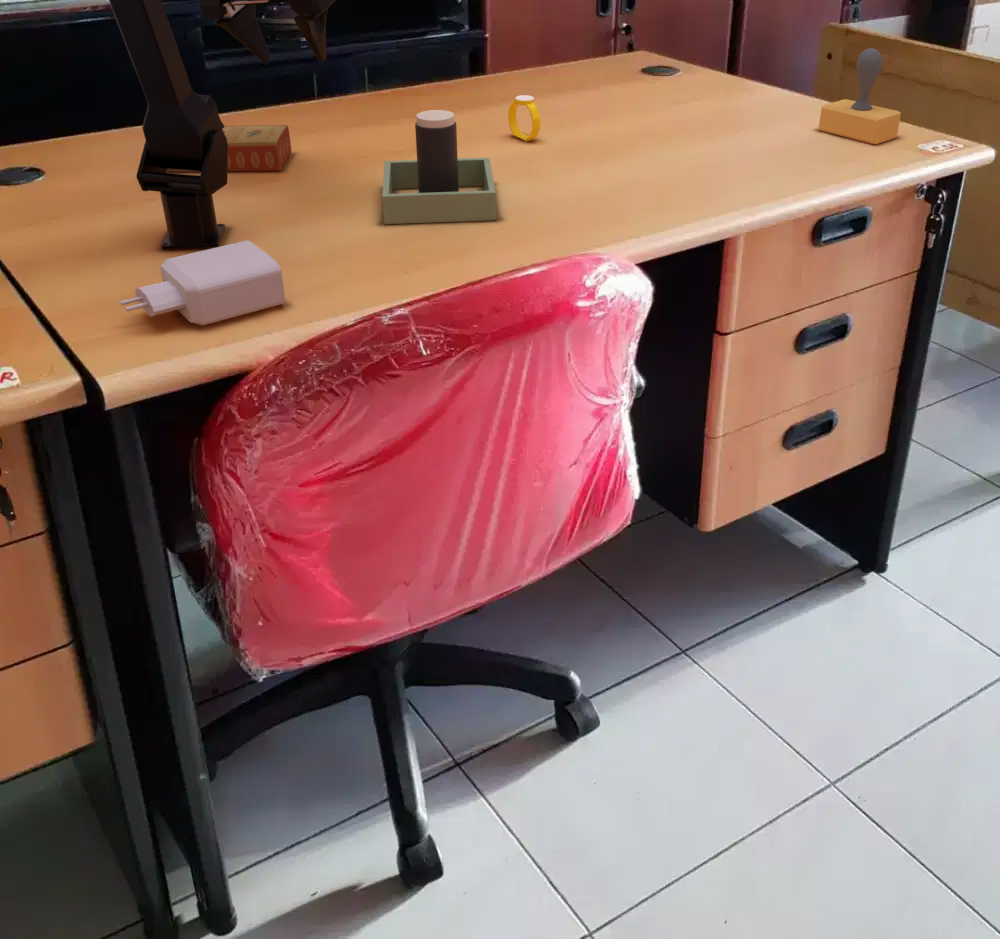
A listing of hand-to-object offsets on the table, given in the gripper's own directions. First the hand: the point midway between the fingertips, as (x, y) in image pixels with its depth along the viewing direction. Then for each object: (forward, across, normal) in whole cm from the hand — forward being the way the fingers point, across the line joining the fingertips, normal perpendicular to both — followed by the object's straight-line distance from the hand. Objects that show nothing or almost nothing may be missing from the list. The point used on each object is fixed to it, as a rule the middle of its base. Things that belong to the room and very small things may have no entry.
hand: (295, 61), depth 138 cm
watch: (+24, -17, -21) cm, 36 cm away
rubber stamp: (+36, -60, -43) cm, 82 cm away
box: (+16, -20, +7) cm, 27 cm away
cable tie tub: (+16, -20, +7) cm, 27 cm away
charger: (+4, -15, +43) cm, 46 cm away
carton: (+12, +14, +5) cm, 20 cm away
